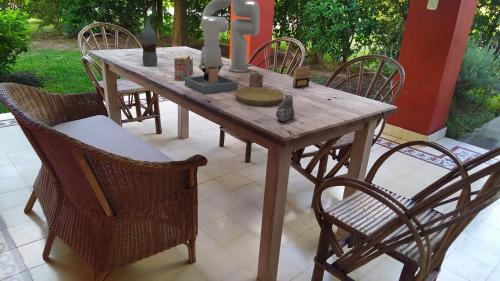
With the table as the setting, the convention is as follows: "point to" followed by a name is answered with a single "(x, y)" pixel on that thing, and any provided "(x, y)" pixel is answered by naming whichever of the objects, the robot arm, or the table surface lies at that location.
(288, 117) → the mineral rock
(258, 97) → the plant saucer
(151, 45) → the bottle
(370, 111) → the table surface
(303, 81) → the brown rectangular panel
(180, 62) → the stack of blocks
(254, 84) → the walnut block
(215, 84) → the tray
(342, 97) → the table surface
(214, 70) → the terracotta block
